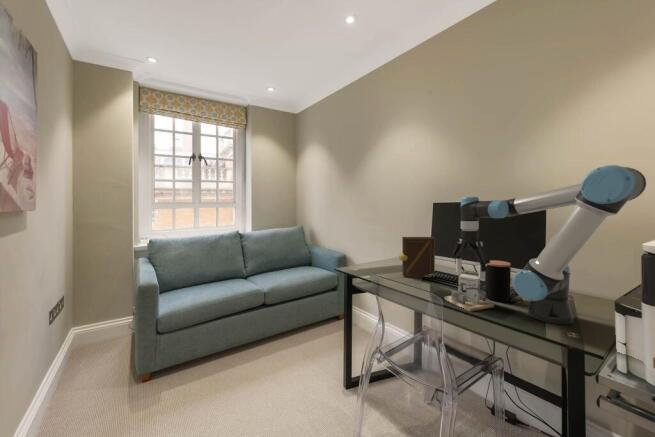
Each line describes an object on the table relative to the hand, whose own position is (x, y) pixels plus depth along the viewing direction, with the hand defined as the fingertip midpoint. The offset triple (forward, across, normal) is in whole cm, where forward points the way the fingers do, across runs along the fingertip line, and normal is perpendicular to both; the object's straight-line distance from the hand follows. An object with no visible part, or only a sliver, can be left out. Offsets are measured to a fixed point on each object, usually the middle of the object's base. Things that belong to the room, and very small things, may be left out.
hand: (469, 275), depth 135 cm
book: (+13, +50, -6) cm, 52 cm away
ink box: (+12, 0, 0) cm, 12 cm away
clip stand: (+14, +1, 0) cm, 14 cm away
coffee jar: (+14, +1, -18) cm, 23 cm away
